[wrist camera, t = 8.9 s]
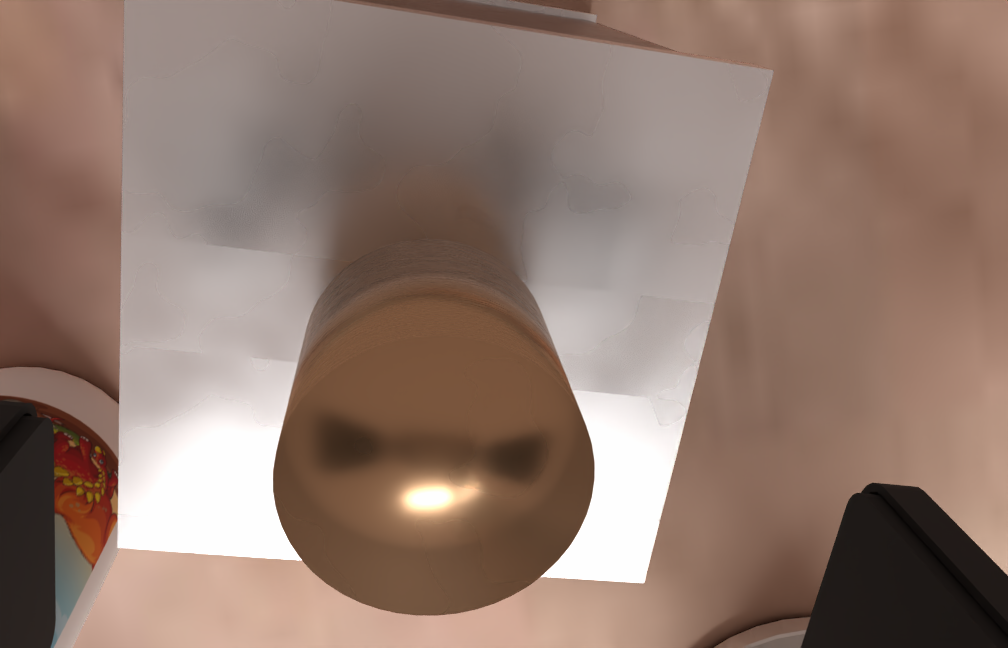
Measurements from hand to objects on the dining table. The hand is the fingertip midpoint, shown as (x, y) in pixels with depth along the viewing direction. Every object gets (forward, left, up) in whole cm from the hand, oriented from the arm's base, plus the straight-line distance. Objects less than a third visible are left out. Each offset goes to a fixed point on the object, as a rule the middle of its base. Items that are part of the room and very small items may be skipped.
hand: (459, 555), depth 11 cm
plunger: (0, 0, -21) cm, 21 cm away
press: (0, +1, -22) cm, 22 cm away
